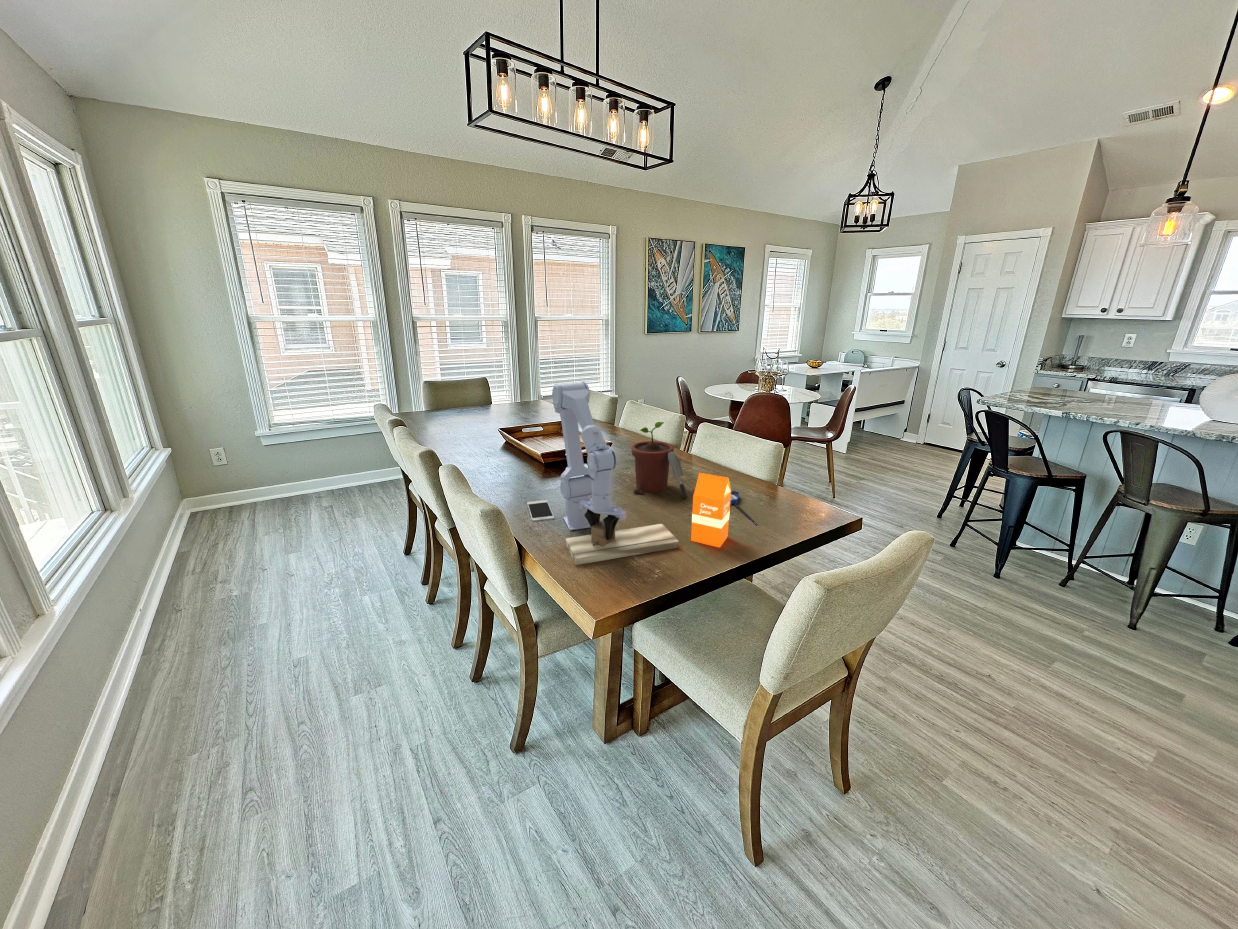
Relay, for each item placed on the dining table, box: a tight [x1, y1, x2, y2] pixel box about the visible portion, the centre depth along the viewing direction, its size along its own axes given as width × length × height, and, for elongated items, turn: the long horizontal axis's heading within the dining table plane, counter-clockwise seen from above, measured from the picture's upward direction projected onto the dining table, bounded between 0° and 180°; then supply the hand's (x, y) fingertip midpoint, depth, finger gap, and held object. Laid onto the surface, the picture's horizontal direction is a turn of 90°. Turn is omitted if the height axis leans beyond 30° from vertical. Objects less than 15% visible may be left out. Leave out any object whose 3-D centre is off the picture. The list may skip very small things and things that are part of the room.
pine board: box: [565, 523, 680, 566], centre depth 137 cm, size 12×30×2 cm, turn 109°
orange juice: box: [690, 472, 732, 548], centre depth 138 cm, size 8×9×20 cm
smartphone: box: [526, 499, 555, 523], centre depth 160 cm, size 7×16×1 cm, turn 17°
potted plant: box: [630, 421, 688, 499], centre depth 174 cm, size 18×22×25 cm
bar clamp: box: [730, 489, 760, 527], centre depth 159 cm, size 32×2×10 cm
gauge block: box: [590, 519, 616, 546], centre depth 134 cm, size 8×4×5 cm, turn 147°
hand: (602, 536), depth 135 cm, fingers closed on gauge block, 4 cm apart
